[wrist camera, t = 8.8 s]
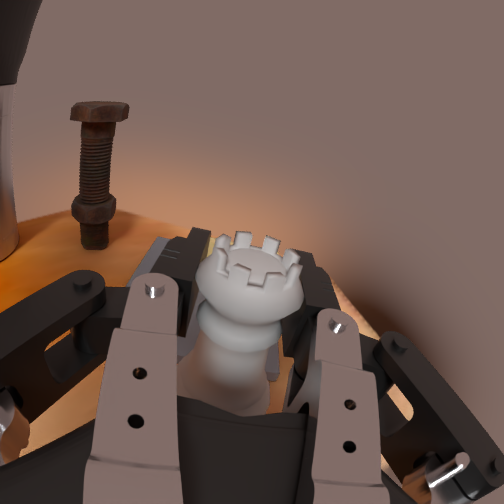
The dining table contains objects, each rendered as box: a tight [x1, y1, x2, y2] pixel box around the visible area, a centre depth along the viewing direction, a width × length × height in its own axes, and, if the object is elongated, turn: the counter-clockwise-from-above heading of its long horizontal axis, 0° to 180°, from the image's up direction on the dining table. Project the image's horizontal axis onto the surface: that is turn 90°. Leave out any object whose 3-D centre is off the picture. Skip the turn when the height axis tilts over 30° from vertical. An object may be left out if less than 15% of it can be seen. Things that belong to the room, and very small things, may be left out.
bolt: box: [70, 101, 129, 250], centre depth 24 cm, size 6×5×15 cm
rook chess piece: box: [177, 231, 304, 416], centre depth 10 cm, size 4×4×8 cm
